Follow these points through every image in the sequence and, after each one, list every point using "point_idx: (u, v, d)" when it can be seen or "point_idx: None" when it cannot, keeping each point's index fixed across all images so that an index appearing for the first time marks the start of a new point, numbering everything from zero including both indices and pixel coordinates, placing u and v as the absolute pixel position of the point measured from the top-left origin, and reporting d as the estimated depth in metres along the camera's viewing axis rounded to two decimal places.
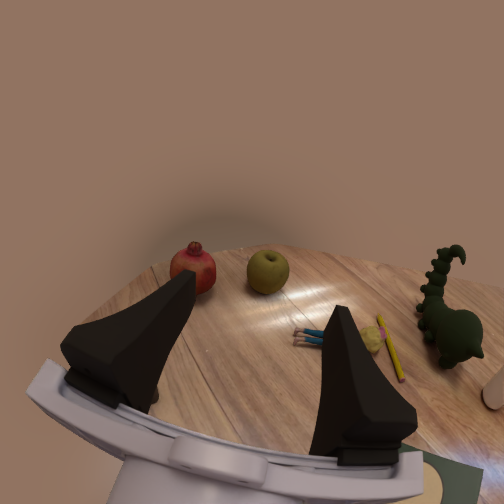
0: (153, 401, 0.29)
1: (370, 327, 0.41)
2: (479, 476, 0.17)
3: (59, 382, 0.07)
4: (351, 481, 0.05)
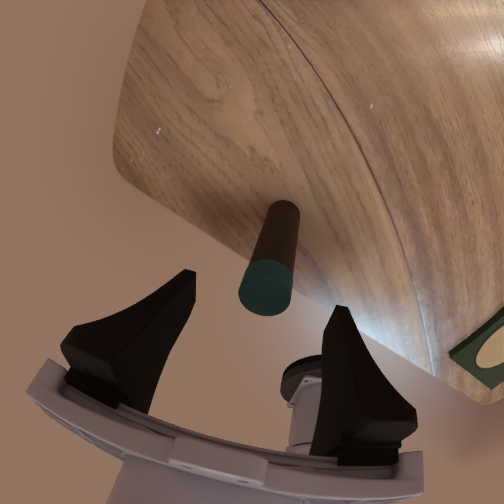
0: None
1: None
2: None
3: (59, 382, 0.07)
4: (351, 481, 0.05)
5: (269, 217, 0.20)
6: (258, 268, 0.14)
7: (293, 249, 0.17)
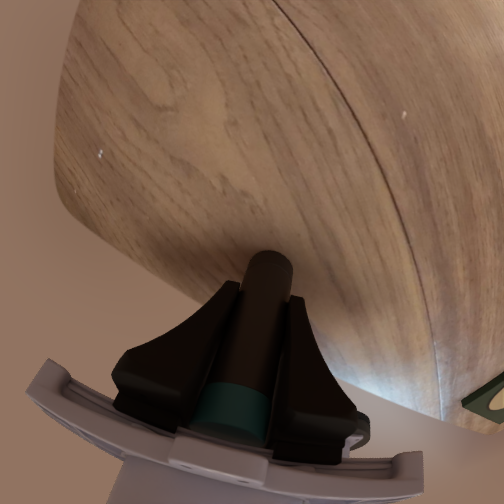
0: None
1: None
2: None
3: (59, 382, 0.07)
4: (351, 481, 0.05)
5: (246, 284, 0.13)
6: (214, 404, 0.08)
7: (277, 348, 0.11)
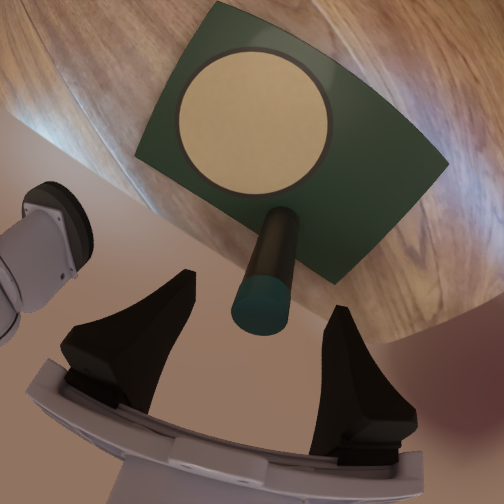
0: None
1: None
2: (432, 171, 0.16)
3: (59, 382, 0.07)
4: (351, 481, 0.05)
5: (266, 225, 0.18)
6: (252, 286, 0.13)
7: (291, 262, 0.16)
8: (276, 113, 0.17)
